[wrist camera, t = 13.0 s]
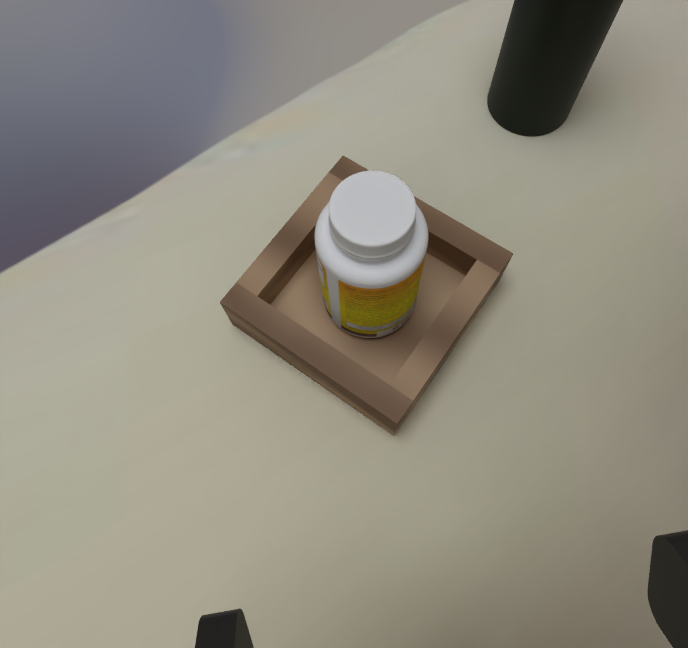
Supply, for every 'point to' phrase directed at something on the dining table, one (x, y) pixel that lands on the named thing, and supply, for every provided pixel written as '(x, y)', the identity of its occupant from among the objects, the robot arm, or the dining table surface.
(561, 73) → the wine bottle
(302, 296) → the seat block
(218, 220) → the dining table surface
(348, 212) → the supplement bottle
